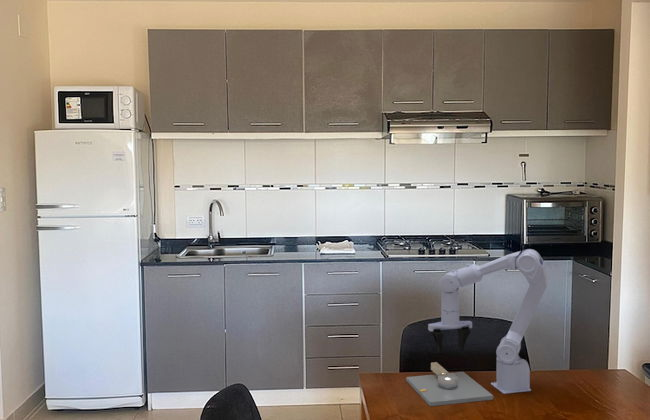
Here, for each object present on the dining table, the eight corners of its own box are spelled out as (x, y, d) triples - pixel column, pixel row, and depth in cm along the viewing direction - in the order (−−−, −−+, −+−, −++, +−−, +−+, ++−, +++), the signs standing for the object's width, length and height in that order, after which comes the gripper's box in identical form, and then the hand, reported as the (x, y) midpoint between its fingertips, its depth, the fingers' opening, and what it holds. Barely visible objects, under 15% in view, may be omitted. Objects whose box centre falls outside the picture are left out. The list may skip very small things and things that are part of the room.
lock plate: (463, 375, 182) (463, 370, 182) (493, 399, 163) (493, 394, 163) (406, 380, 178) (406, 376, 178) (429, 406, 159) (429, 401, 159)
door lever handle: (460, 388, 168) (460, 377, 168) (442, 390, 167) (442, 378, 167) (442, 372, 182) (442, 361, 181) (425, 373, 180) (425, 363, 180)
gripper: (465, 305, 183) (465, 345, 184) (424, 308, 180) (424, 348, 181) (475, 310, 176) (475, 351, 177) (432, 313, 173) (433, 355, 174)
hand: (450, 350), depth 178 cm, fingers open, 7 cm apart
